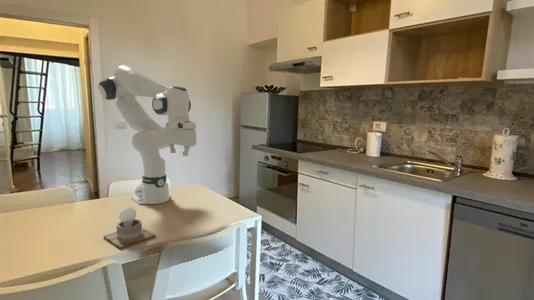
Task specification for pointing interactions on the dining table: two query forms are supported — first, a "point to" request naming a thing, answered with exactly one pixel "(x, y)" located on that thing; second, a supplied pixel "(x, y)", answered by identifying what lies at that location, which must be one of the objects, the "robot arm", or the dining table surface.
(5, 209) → the dining table surface
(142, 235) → the socket base
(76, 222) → the dining table surface
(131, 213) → the lightbulb
